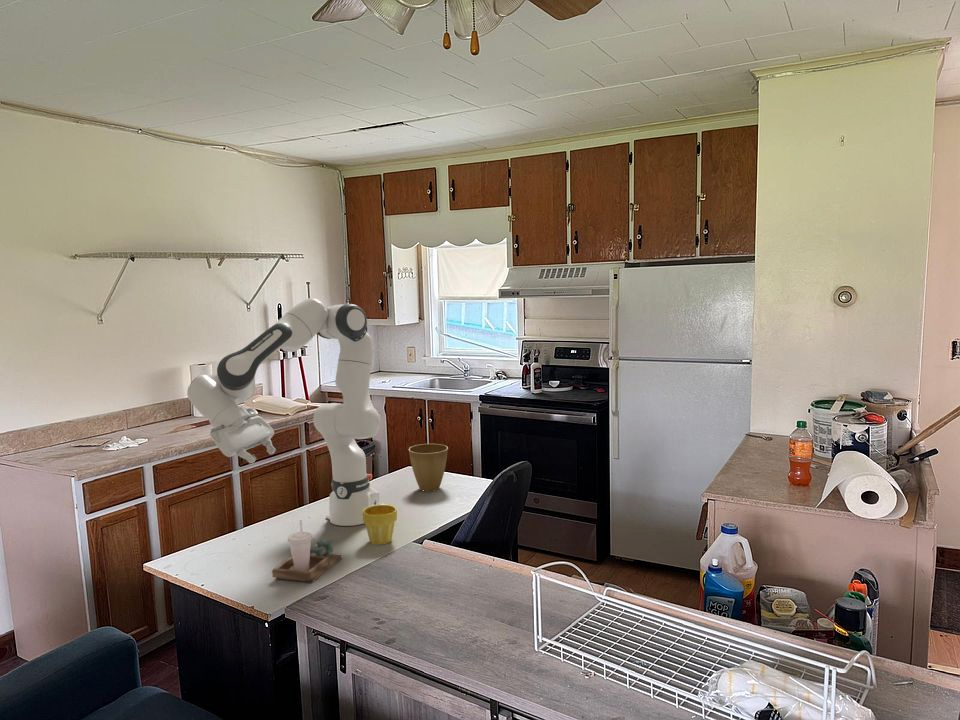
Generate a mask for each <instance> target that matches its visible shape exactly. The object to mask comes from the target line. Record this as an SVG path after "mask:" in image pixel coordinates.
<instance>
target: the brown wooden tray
mask: <svg viewBox="0 0 960 720" xmlns="http://www.w3.org/2000/svg"><path fill="white" fill-rule="evenodd" d="M340 560H342V554H336V553H335V554H334V553H333V543H332V541H331V540H319V541H318V542H317V543H316V547H315V546H310V562H309V570H308V571H307V572H306V571H296V570H295V569H294V564H293V559H292V555H291V556H290V557H288V558H287V559H285V560H284V561H282V562H281V563H279V564H278V566H276V567H275V568H273V569H272V570H271V573H272V575H271V576H272V578H276V579H277V580H278V579H279V580H288V581H289V580H290V581H296V582H297V581H298V582H307V583H313V582H315V581H316V580H317V579H318V578H319V577H321V576H322V575H323V574H324V573H326V572H327V571H328V570H329V569H330V568H332V567H333V566H334V565H335V564H337V562H339V561H340ZM331 566H332V567H331Z"/></svg>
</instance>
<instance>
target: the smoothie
mask: <svg viewBox="0 0 960 720" xmlns="http://www.w3.org/2000/svg"><path fill="white" fill-rule="evenodd" d="M299 529H300V530H299V532H295V533H291V534H289V535H288V537H287V542H288V543H289V548H290V554H291V556H292V559H293V564H294V569H295V570H296V571H306V572H307V571H308V570H309V562H310V548H311V547H312V546H311V545H312V540H313V537H312V536H313V535H312V533H311V532H308V531H303V521H302V519H300V520H299Z"/></svg>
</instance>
